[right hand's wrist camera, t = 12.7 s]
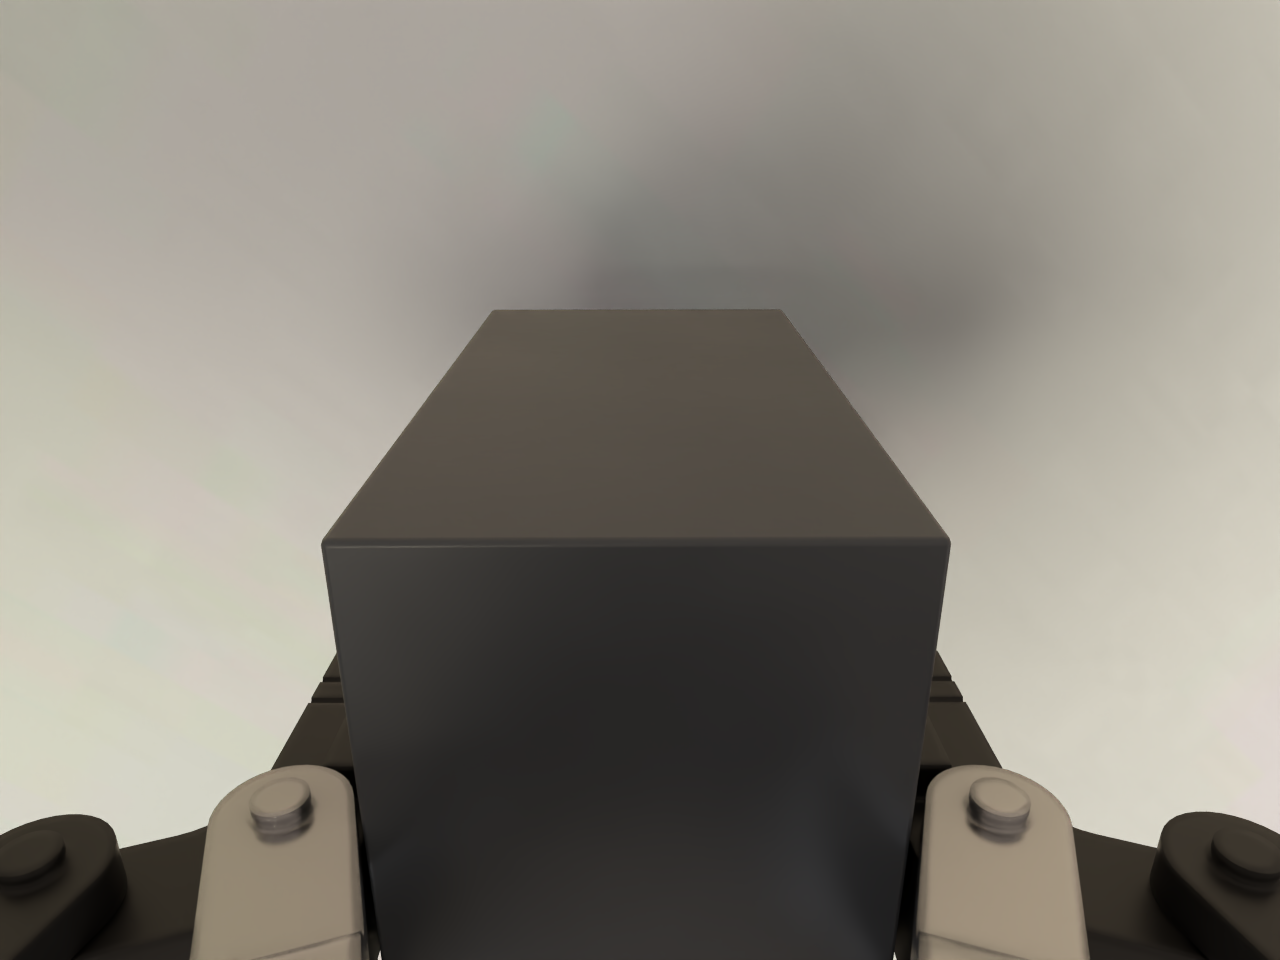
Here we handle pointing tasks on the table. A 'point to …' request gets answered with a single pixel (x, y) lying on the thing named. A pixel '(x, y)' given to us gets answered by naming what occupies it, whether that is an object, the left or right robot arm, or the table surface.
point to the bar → (636, 649)
